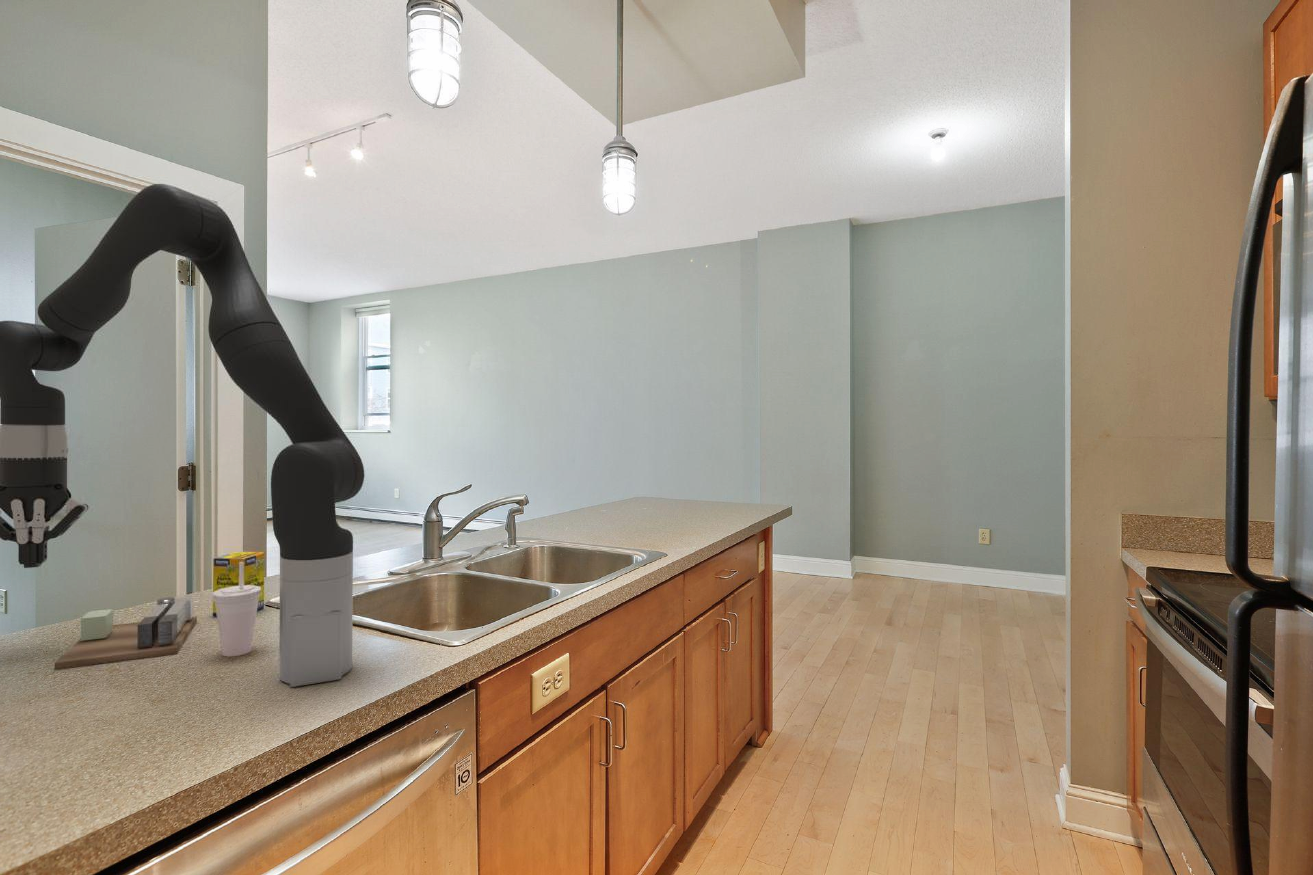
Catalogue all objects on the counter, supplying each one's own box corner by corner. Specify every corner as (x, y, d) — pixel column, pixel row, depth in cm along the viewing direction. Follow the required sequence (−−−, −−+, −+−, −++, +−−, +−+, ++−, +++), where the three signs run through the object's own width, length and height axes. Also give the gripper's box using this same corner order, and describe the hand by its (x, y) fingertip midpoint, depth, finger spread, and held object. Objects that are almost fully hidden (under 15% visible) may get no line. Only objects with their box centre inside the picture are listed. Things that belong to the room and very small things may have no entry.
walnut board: (176, 653, 95) (176, 647, 95) (54, 669, 88) (54, 662, 88) (196, 621, 110) (196, 615, 110) (93, 632, 103) (93, 627, 103)
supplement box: (244, 618, 112) (244, 558, 112) (211, 617, 112) (211, 557, 112) (265, 608, 118) (265, 551, 118) (234, 607, 118) (234, 550, 118)
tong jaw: (151, 646, 95) (151, 623, 94) (137, 648, 94) (137, 624, 94) (169, 624, 105) (169, 603, 105) (156, 625, 104) (156, 604, 104)
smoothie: (266, 652, 96) (267, 562, 96) (217, 663, 91) (217, 569, 91) (254, 641, 101) (255, 556, 100) (207, 651, 96) (207, 562, 96)
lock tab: (105, 637, 98) (105, 615, 98) (80, 640, 96) (80, 618, 96) (113, 630, 101) (113, 609, 101) (89, 632, 100) (89, 611, 100)
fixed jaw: (175, 644, 96) (175, 619, 96) (136, 649, 94) (136, 623, 94) (193, 617, 109) (193, 595, 109) (158, 621, 107) (158, 598, 106)
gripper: (-41, 456, 88) (-41, 576, 89) (81, 455, 94) (81, 568, 95) (-16, 453, 95) (-15, 565, 95) (97, 453, 101) (97, 558, 101)
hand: (33, 566), depth 95 cm, fingers closed
